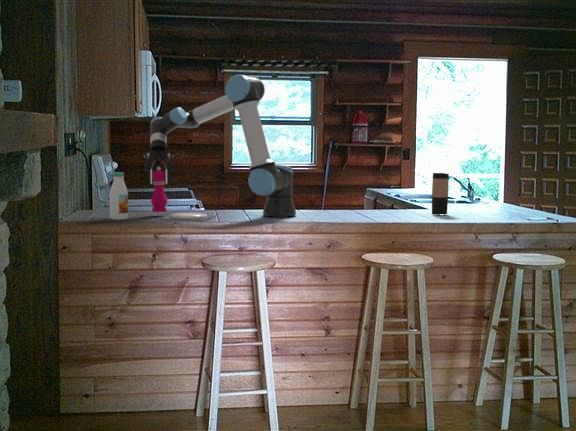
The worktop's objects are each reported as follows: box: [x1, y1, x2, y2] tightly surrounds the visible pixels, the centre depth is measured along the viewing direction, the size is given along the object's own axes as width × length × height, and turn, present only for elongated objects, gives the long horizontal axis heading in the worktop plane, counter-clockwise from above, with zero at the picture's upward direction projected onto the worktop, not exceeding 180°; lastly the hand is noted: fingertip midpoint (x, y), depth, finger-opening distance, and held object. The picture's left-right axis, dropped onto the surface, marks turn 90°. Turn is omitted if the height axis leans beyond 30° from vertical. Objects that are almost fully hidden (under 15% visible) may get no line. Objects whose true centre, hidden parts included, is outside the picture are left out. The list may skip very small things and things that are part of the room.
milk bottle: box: [109, 172, 129, 221], centre depth 308 cm, size 8×8×20 cm
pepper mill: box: [150, 166, 168, 213], centre depth 322 cm, size 7×7×20 cm
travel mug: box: [431, 172, 450, 215], centre depth 346 cm, size 8×8×20 cm
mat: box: [159, 214, 217, 222], centre depth 317 cm, size 20×20×1 cm
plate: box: [169, 212, 208, 219], centre depth 317 cm, size 16×16×1 cm
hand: (158, 181), depth 318 cm, fingers closed on pepper mill, 6 cm apart
